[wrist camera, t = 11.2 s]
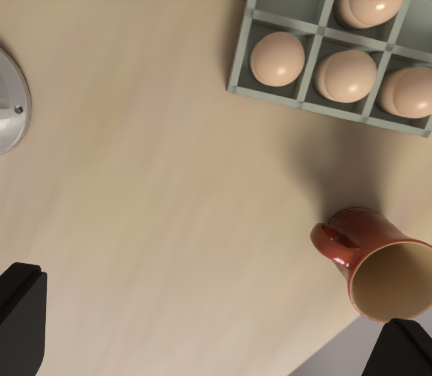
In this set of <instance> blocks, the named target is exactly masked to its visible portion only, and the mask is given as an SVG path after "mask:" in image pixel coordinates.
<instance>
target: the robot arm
mask: <svg viewBox="0 0 432 376" xmlns="http://www.w3.org/2000/svg"><path fill="white" fill-rule="evenodd" d="M21 107H22V108H23V111H22V110H21ZM30 118H31V99H30V93H29V90H28V86H27V83H26V81H25V79H24V77H23V75H22V73H21V71H20V69H19V68H18V66H17V65H16V63H15V62H14V61H13V59H12V58H11V57H10V56H9V55H8V54H7V53H6V52H5V51H4V50H3V49H2V48H1V47H0V154H3V153H5V152H7V151H9V150H10V149H12V148H13V147H15V146H16V145H17V143H18V142H19V141H20V140H21V139H22V138H23V136H24V134H25V132H26V131H27V128H28V125H29V122H30ZM46 297H47V273H46V272H41V268H40V266H39V265H33V264H26V263H19V262H15V263H13V264H12V265H11V266H10V267H9V268H8V269H7V270H6V271H5V272H4V273H3V274H2V275H1V276H0V376H35V375H36V373H37V372H38V370H39V368H40V366H41V363H42V360H43V357H44V349H45V323H46ZM362 376H432V338H431V337H430V336H429V335H428V334H427V332H426V331H425V330H424V329H423V328H422V327H421V325H420V324H419V323H417V322H416V321H413V320H407V319H400V318H392V319H391V320H390V321H389V322H387V323H385V325H384V326H383V328H382V331H381V333H380V335H379V338H378V340H377V342H376V344H375V346H374V349H373V351H372V353H371V355H370V358H369V360H368V362H367V364H366V367H365V369H364V371H363V373H362Z"/></svg>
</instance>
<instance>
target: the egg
mask: <svg viewBox="0 0 432 376" xmlns="http://www.w3.org/2000/svg"><path fill="white" fill-rule="evenodd" d="M404 1H405V0H334V1H333V5H332V12H333V17H334V19H335V21H336V23H337V24H338V25H339V26H340V27H341V28H343V29H345V30H348V31H357V30H361V29H365V28H368V27H372V26H376V25H379V24H382V23H384V22H386V21H388V20H389V19H391V18H392V17H393V16H394V15H395V14H396V13H397V12H398V11H399V10H400V8H401V7H402V5H403V3H404Z"/></svg>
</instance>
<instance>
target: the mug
mask: <svg viewBox="0 0 432 376" xmlns="http://www.w3.org/2000/svg"><path fill="white" fill-rule="evenodd" d="M310 238H311V241H312V243H313V245H314V246H315V248H316V249H317V250H318V251H319V252H320V253H321V254H323V255H324V256H326V257H327V258H329V259H331V260H332V261H333V262H334V264H335V265H336V267H337V268H338V269H339V271H340V272H341V273H342V275H343V276H344V277H345V279H346V281H347V287H348V293H349V297H350V300H351V302H352V304H353V306H354V308H355V309H356V310H357V311H358V312H359V313H360V314H361V315H363V316H364V317H366V318H368V319H370V320H373V321H376V322H381V323H387V322H389V321H390V320H391V319H392V318H400V319H407V320H410V319H412V318H414V317H417V316H419V315H420V314H422V313H424V312H425V311H426V310H428V309H429V308H430V307H431V306H432V246H431V245H429V244H427V243H425V242H423V241H420V240H416V239H413V238H410V237H407V236H405V235H404V234H403V233H402V232H401V231H400V230H399V229H397V228H396V227H395V226H394V225H393V224H392V223H391V222H389V221H388V220H387V219H386V218H385V217H384V216H383V215H381V214H379V213H376V212H374V211H372V210H370V209H367V208H362V207H353V208H349V209H346V210H343V211H341V212H339V213H337V214H336V215H335V216H334V217H333V218H332V219H331V220H330V222H329V223H328V224H324V223H318V224H316V225H315V226H314V227H313V229H312V231H311V233H310Z"/></svg>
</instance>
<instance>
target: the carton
mask: <svg viewBox="0 0 432 376" xmlns="http://www.w3.org/2000/svg"><path fill="white" fill-rule="evenodd" d="M333 1H334V0H246V3H245V8H244V12H243V17H242V21H241V26H240V30H239V35H238V39H237V44H236V49H235V53H234V58H233V62H232V67H231V71H230V76H229V80H228V85H227V89H226V91H227V92H229V93H233V94H238V95H242V96H246V97H251V98H255V99H259V100H264V101H268V102H273V103H277V104H281V105H286V106H290V107H294V108H299V109H303V110H308V111H312V112H316V113H321V114H325V115H329V116H334V117H338V118H342V119H347V120H351V121H356V122H360V123H364V124H369V125H373V126H377V127H382V128H386V129H391V130H395V131H399V132H404V133H408V134H412V135H417V136H421V137H426V138H428V137H429V135H430V133H431V130H432V0H405V1H404V3H403V5H402V7H401V8H400V10H399V11H398V12H397V13H396V14H395V15H394V16H393V17H392V18H391V19H389V20H388V21H386V22H384V23H382V24H379V25H376V26H372V27H368V28H365V29H361V30H357V31H348V30H345V29H343V28H341V27H340V26H339V25H338V24H337V23H336V21H335V19H334V17H333V12H332V5H333Z"/></svg>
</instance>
